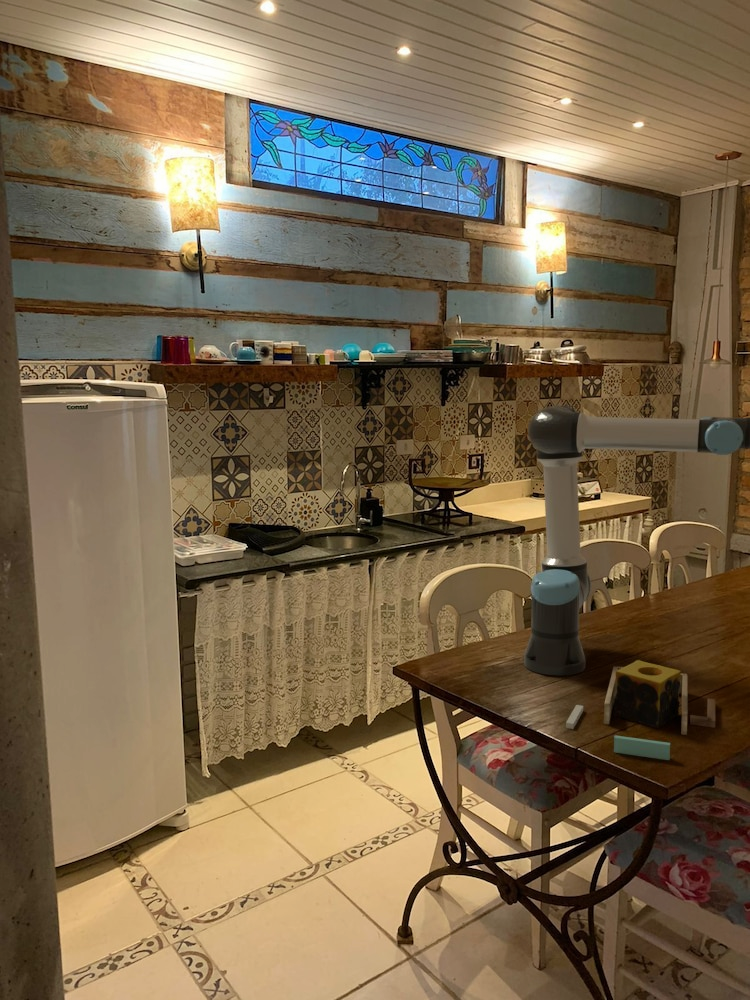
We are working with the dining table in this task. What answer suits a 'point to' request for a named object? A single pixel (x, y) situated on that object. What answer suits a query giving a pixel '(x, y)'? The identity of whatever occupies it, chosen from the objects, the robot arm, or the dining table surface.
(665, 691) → the candle
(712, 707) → the crook tool
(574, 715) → the grey stick
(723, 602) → the dining table surface
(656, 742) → the bar
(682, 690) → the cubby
